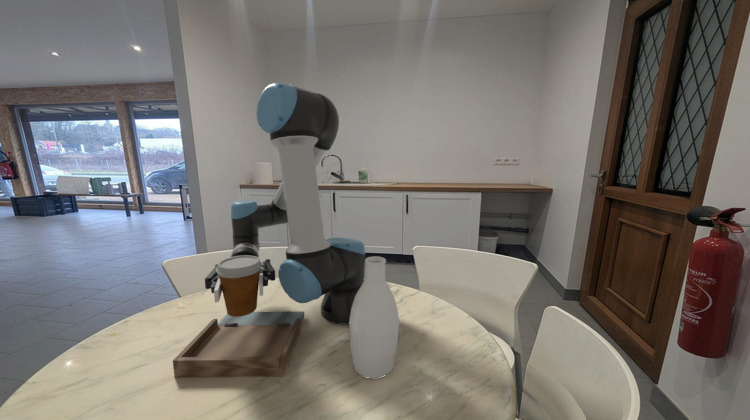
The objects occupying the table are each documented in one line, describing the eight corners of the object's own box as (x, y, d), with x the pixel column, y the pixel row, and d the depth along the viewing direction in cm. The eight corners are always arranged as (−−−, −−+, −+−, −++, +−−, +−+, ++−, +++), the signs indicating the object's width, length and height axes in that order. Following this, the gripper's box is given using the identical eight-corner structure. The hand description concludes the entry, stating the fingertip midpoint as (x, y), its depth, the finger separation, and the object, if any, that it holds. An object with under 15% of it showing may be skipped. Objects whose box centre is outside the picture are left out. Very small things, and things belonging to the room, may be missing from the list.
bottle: (407, 370, 62) (412, 262, 58) (365, 392, 56) (367, 273, 52) (379, 343, 71) (381, 248, 67) (340, 360, 65) (340, 256, 61)
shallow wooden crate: (306, 317, 82) (305, 305, 82) (283, 376, 60) (283, 359, 59) (227, 317, 82) (226, 305, 81) (174, 377, 59) (172, 360, 58)
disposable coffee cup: (247, 323, 60) (244, 271, 58) (209, 317, 62) (205, 266, 60) (271, 302, 69) (269, 256, 67) (238, 297, 71) (235, 253, 69)
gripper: (282, 266, 85) (289, 301, 65) (204, 275, 77) (184, 317, 57) (282, 243, 84) (288, 270, 63) (202, 250, 76) (180, 283, 55)
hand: (239, 293), depth 60 cm, fingers closed on disposable coffee cup, 8 cm apart
